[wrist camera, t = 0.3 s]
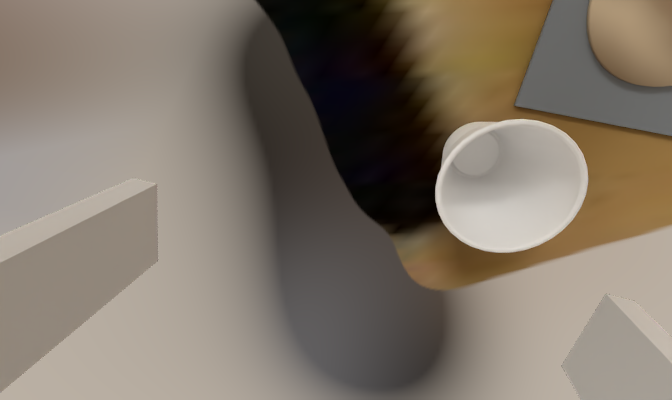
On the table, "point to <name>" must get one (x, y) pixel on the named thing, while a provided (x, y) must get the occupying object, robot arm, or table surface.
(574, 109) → the placemat
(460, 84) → the table surface
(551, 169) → the cup
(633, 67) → the coaster
